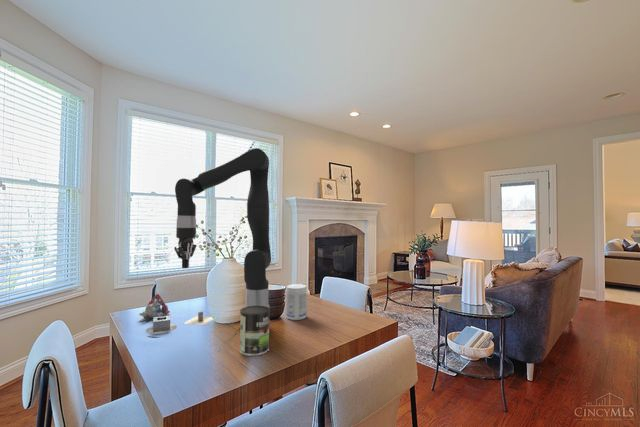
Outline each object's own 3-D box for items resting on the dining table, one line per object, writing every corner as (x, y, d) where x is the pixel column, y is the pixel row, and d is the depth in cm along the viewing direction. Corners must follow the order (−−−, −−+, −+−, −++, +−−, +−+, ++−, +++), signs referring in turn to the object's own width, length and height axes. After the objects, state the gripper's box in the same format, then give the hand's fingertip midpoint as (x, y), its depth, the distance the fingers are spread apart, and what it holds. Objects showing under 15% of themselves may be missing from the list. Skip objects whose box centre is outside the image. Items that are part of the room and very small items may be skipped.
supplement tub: (304, 313, 149) (305, 283, 149) (308, 320, 140) (308, 287, 140) (284, 314, 147) (285, 284, 147) (286, 321, 137) (287, 288, 138)
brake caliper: (178, 309, 144) (166, 293, 137) (163, 330, 135) (149, 313, 129) (159, 307, 147) (146, 291, 141) (143, 327, 139) (129, 310, 132)
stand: (216, 320, 137) (217, 309, 137) (205, 328, 127) (205, 316, 127) (195, 319, 138) (196, 308, 138) (183, 327, 128) (183, 315, 128)
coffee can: (275, 348, 109) (276, 308, 109) (254, 359, 100) (255, 315, 101) (254, 341, 115) (254, 303, 115) (233, 351, 106) (233, 310, 106)
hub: (182, 328, 127) (182, 316, 127) (165, 338, 116) (165, 325, 116) (157, 326, 128) (158, 314, 128) (139, 336, 117) (139, 323, 117)
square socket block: (169, 325, 126) (170, 315, 126) (170, 330, 121) (170, 319, 121) (153, 327, 123) (153, 317, 123) (152, 332, 118) (153, 321, 118)
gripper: (185, 227, 121) (184, 271, 120) (202, 226, 134) (202, 266, 134) (168, 226, 122) (167, 270, 121) (186, 226, 135) (186, 265, 135)
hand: (185, 268), depth 128 cm, fingers closed
